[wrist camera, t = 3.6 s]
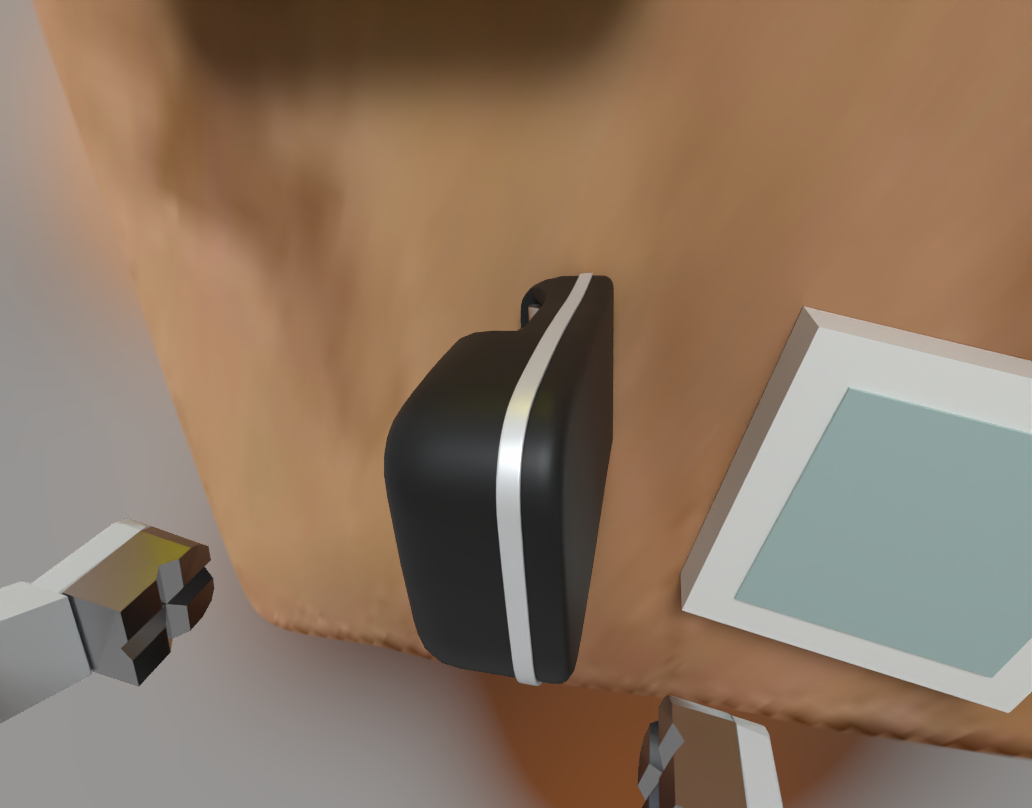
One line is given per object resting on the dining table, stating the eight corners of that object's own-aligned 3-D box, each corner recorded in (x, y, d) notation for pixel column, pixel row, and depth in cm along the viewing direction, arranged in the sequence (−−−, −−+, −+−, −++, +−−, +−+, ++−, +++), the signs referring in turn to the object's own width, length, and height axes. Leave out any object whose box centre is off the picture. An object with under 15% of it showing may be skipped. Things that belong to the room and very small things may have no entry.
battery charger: (503, 267, 19) (330, 425, 9) (614, 265, 18) (556, 438, 8) (517, 441, 22) (399, 699, 12) (613, 446, 21) (569, 731, 11)
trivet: (1227, 408, 16) (1301, 445, 14) (981, 665, 22) (1011, 716, 20) (803, 306, 17) (820, 328, 15) (680, 573, 23) (681, 613, 21)
